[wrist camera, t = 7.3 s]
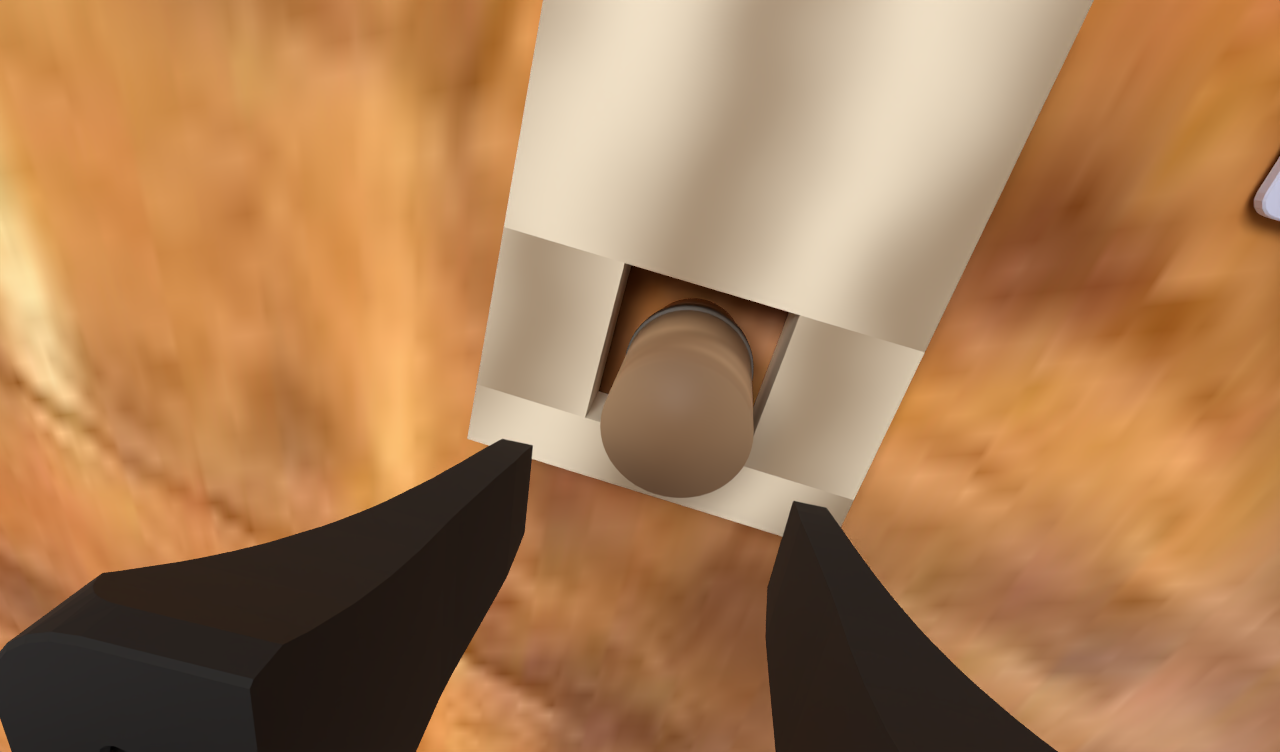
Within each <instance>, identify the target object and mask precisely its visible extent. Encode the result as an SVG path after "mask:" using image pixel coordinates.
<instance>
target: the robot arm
mask: <svg viewBox="0 0 1280 752" xmlns="http://www.w3.org/2000/svg"><path fill="white" fill-rule="evenodd" d="M1254 208H1255V210H1256V211H1257V213H1258V214H1260V215H1262V216H1264V217H1267V218H1270V219H1274V220H1277V221H1280V157H1279V159H1278V160H1277V162H1276V163H1275V165H1274V166H1273V168H1272V169H1271V171H1270V173H1269V174H1268V176H1267V177H1266V179H1265V180H1264V182H1263V184H1262V185H1261V187H1260V188H1259V190H1258V191H1257V193H1256V196H1255V198H1254ZM532 451H533V445H529V444H525V443H520V442H515V441H511V440H506V439H501V440H499V441H497V442H495V443H493V444H492V445H490V446H488V447H486V448H485V449H483V450H481V451H479V452H478V453H476V454H474V455H473V456H471V457H469V458H468V459H466V460H464V461H462V462H461V463H459V464H457V465H455V466H453V467H452V468H450V469H448V470H446V471H444V472H443V473H441V474H439V475H437V476H436V477H434V478H432V479H430V480H428V481H426V482H424V483H422V484H420V485H418V486H416V487H414V488H412V489H410V490H408V491H406V492H404V493H402V494H400V495H398V496H396V497H394V498H392V499H390V500H388V501H385V502H383V503H381V504H379V505H376V506H374V507H372V508H369V509H367V510H364V511H362V512H360V513H357V514H354V515H352V516H349V517H346V518H344V519H341V520H339V521H336V522H333V523H330V524H328V525H325V526H322V527H318V528H315V529H312V530H308V531H305V532H302V533H299V534H295V535H292V536H289V537H285V538H282V539H279V540H276V541H272V542H269V543H265V544H261V545H257V546H253V547H249V548H244V549H240V550H236V551H232V552H227V553H222V554H218V555H213V556H208V557H203V558H198V559H193V560H188V561H182V562H176V563H169V564H163V565H156V566H149V567H143V568H136V569H130V570H123V571H116V572H108V573H102V574H101V575H99V576H98V577H96V578H95V579H94V580H92V581H91V582H89V583H88V584H87V585H85V586H84V587H83V588H81V589H80V590H79V591H77V592H76V593H75V594H73V595H72V596H70V597H69V598H68V599H66V600H65V601H64V602H62V603H61V604H60V605H58V606H57V607H56V608H54V609H53V610H51V611H50V612H49V613H47V614H46V615H45V616H43V617H42V618H41V619H39V620H38V621H36V622H35V623H34V624H32V625H31V626H30V627H28V628H27V629H26V630H24V631H23V632H22V633H20V634H19V635H17V636H16V637H15V638H13V639H12V640H11V641H9V642H8V643H7V644H6V645H5V646H4V648H3V649H2V650H1V651H0V719H1V722H2V725H3V728H4V731H5V734H6V736H7V739H8V742H9V745H10V748H11V751H12V752H416V750H417V748H418V746H419V743H420V741H421V739H422V737H423V734H424V732H425V730H426V728H427V725H428V723H429V721H430V719H431V716H432V714H433V712H434V709H435V707H436V705H437V703H438V700H439V698H440V696H441V694H442V692H443V690H444V688H445V687H446V685H447V683H448V681H449V679H450V677H451V675H452V673H453V671H454V670H455V668H456V666H457V664H458V663H459V661H460V659H461V657H462V655H463V654H464V652H465V650H466V648H467V647H468V645H469V643H470V641H471V640H472V638H473V636H474V634H475V633H476V631H477V629H478V627H479V626H480V624H481V622H482V620H483V619H484V617H485V615H486V613H487V612H488V610H489V608H490V606H491V604H492V603H493V601H494V599H495V597H496V595H497V594H498V592H499V590H500V588H501V587H502V585H503V583H504V581H505V579H506V577H507V575H508V573H509V570H510V568H511V565H512V563H513V561H514V558H515V556H516V553H517V551H518V548H519V545H520V543H521V540H522V538H523V535H524V532H525V522H526V512H527V502H528V491H529V481H530V471H531V461H532ZM766 648H767V660H768V672H769V683H770V694H771V705H772V716H773V727H774V738H775V749H776V752H1058V751H1056V750H1055V749H1054V748H1052V747H1051V746H1049V745H1048V744H1047V743H1045V742H1044V741H1043V740H1041V739H1040V738H1039V737H1038V736H1036V735H1035V734H1034V733H1033V732H1031V731H1030V730H1029V729H1028V728H1026V727H1025V726H1024V725H1023V724H1021V723H1020V722H1019V721H1017V720H1016V719H1015V718H1014V717H1013V716H1011V715H1010V714H1009V713H1008V712H1007V711H1006V710H1004V709H1003V708H1002V707H1001V706H1000V705H999V704H997V703H996V702H995V701H994V700H993V699H992V698H990V697H989V696H988V695H987V694H986V693H985V692H984V691H982V690H981V689H980V688H979V687H978V686H977V685H976V684H974V683H973V682H972V681H971V680H970V679H969V678H968V677H967V676H966V675H965V674H964V673H963V672H961V671H960V670H959V669H958V668H957V667H956V666H955V665H954V664H953V663H952V662H951V661H950V660H949V659H948V658H947V657H946V656H945V655H944V654H943V653H942V652H941V651H940V650H939V649H938V648H937V647H936V646H935V645H934V644H933V643H932V642H931V641H930V640H929V639H928V637H927V636H926V635H925V634H924V633H923V632H922V631H921V630H920V629H919V628H918V627H917V626H916V624H915V623H914V622H913V621H912V620H911V619H910V617H909V616H908V615H907V614H906V613H905V612H904V610H903V609H902V608H901V607H900V606H899V605H898V603H897V602H896V601H895V600H894V599H893V597H892V596H891V595H890V594H889V592H888V591H887V590H886V589H885V588H884V586H883V585H882V584H881V582H880V581H879V580H878V579H877V577H876V576H875V575H874V573H873V572H872V571H871V569H870V568H869V567H868V565H867V564H866V563H865V561H864V560H863V559H862V557H861V556H860V554H859V553H858V552H857V550H856V549H855V547H854V546H853V545H852V543H851V542H850V540H849V539H848V537H847V536H846V535H845V533H844V532H843V530H842V529H841V527H840V526H839V524H838V523H837V522H836V520H835V519H834V517H833V516H832V514H831V513H830V512H829V510H828V509H827V508H826V507H821V506H816V505H812V504H807V503H802V502H797V501H793V503H792V506H791V510H790V513H789V517H788V520H787V523H786V527H785V530H784V533H783V537H782V540H781V544H780V547H779V550H778V554H777V557H776V561H775V564H774V567H773V571H772V574H771V578H770V581H769V584H768V590H767V611H766Z"/></svg>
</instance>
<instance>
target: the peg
mask: <svg viewBox="0 0 1280 752" xmlns="http://www.w3.org/2000/svg"><path fill="white" fill-rule="evenodd" d="M752 379H753V357H752V352H751V349H750V346H749V344H748V341H747V339H746V337H745V335H744V334H743V332H742V330H741V329H740V328H739V326H738V325H737V324H736V323H735V321H734V320H733V318H732V317H731V316H730V315H729V314H728V313H727V312H726V311H725V310H724V309H723V308H721V307H720V306H718V305H716V304H715V303H712V302H710V301H706V300H702V299H683V300H679V301H676V302H673V303H671V304H669V305H667V306H666V307H664V308H663V309H661V310H659V311H658V312H656V313H654V314H653V315H652V316H650V317H649V318H648V319H647V320H645V321H644V322H643V323H642V324H641V325H640V327H639V328H638V329H637V330H636V332H635V333H634V335H633V337H632V339H631V341H630V343H629V346H628V348H627V352H626V356H625V359H624V361H623V363H622V365H621V368H620V370H619V372H618V374H617V376H616V379H615V381H614V383H613V385H612V388H611V390H610V392H609V394H608V397H607V399H606V401H605V404H604V406H603V409H602V414H601V421H600V431H601V438H602V443H603V446H604V448H605V451H606V453H607V455H608V457H609V459H610V461H611V462H612V463H613V465H614V466H615V468H616V469H617V470H618V471H619V472H620V473H621V474H622V475H623V476H624V477H625V478H626V479H628V480H629V481H630V482H632V483H633V484H635V485H636V486H638V487H640V488H642V489H644V490H646V491H648V492H651V493H653V494H657V495H661V496H665V497H672V498H689V497H696V496H701V495H704V494H708V493H711V492H713V491H715V490H717V489H719V488H721V487H723V486H724V485H726V484H727V483H728V482H730V481H731V480H732V479H733V478H734V477H735V476H736V475H737V474H738V473H739V472H740V471H741V469H742V468H743V466H744V465H745V463H746V461H747V459H748V457H749V455H750V452H751V449H752V444H753V433H754V428H753V397H752Z"/></svg>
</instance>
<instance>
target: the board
mask: <svg viewBox="0 0 1280 752" xmlns="http://www.w3.org/2000/svg"><path fill="white" fill-rule="evenodd" d="M1093 1H1094V0H543V4H542V10H541V16H540V22H539V27H538V33H537V39H536V45H535V51H534V56H533V62H532V68H531V74H530V79H529V85H528V91H527V97H526V103H525V108H524V114H523V120H522V126H521V131H520V137H519V143H518V149H517V155H516V160H515V166H514V172H513V178H512V183H511V189H510V195H509V201H508V207H507V212H506V218H505V224H504V230H503V235H502V241H501V247H500V253H499V259H498V264H497V270H496V276H495V282H494V287H493V293H492V299H491V305H490V311H489V316H488V322H487V328H486V334H485V339H484V345H483V351H482V357H481V363H480V368H479V374H478V380H477V386H476V391H475V397H474V403H473V409H472V415H471V420H470V426H469V432H468V438H467V439H470V440H473V441H476V442H479V443H483V444H486V445H489V446H490V445H492V444H493V443H495V442H497V441H499V440H501V439H506V440H511V441H515V442H520V443H525V444H529V445H533V451H532V459H534V460H537V461H541V462H544V463H547V464H550V465H554V466H557V467H560V468H563V469H566V470H570V471H573V472H576V473H579V474H583V475H586V476H589V477H592V478H595V479H599V480H602V481H605V482H608V483H612V484H615V485H618V486H621V487H624V488H628V489H631V490H634V491H637V492H641V493H644V494H647V495H650V496H653V497H657V498H660V499H663V500H666V501H670V502H673V503H676V504H679V505H682V506H686V507H689V508H692V509H695V510H699V511H702V512H705V513H708V514H711V515H715V516H718V517H721V518H724V519H728V520H731V521H734V522H737V523H740V524H744V525H747V526H750V527H753V528H757V529H760V530H763V531H766V532H769V533H773V534H776V535H779V536H782V537H783V533H784V530H785V527H786V523H787V520H788V517H789V513H790V510H791V506H792V503H793V501H797V502H802V503H807V504H812V505H816V506H821V507H826V508H827V509H828V510H829V512H830V513H831V514H832V516H833V517H834V519H835V520H836V522H837V523H838V524H839V526H840V527H841V526H842V524H843V521H844V519H845V517H846V515H847V513H848V511H849V509H850V507H851V505H852V503H853V501H854V499H855V496H856V494H857V492H858V490H859V488H860V486H861V484H862V482H863V480H864V478H865V476H866V474H867V471H868V469H869V467H870V465H871V463H872V461H873V459H874V457H875V455H876V453H877V451H878V449H879V446H880V444H881V442H882V440H883V438H884V436H885V434H886V432H887V430H888V428H889V426H890V424H891V421H892V419H893V417H894V415H895V413H896V411H897V409H898V407H899V405H900V403H901V401H902V399H903V396H904V394H905V392H906V390H907V388H908V386H909V384H910V382H911V380H912V378H913V376H914V374H915V371H916V369H917V367H918V365H919V363H920V361H921V359H922V357H923V355H924V353H925V351H926V349H927V346H928V344H929V342H930V340H931V338H932V336H933V334H934V332H935V330H936V328H937V326H938V324H939V321H940V319H941V317H942V315H943V313H944V311H945V309H946V307H947V305H948V303H949V301H950V299H951V296H952V294H953V292H954V290H955V288H956V286H957V284H958V282H959V280H960V278H961V276H962V274H963V271H964V269H965V267H966V265H967V263H968V261H969V259H970V257H971V255H972V253H973V251H974V249H975V246H976V244H977V242H978V240H979V238H980V236H981V234H982V232H983V230H984V228H985V226H986V224H987V221H988V219H989V217H990V215H991V213H992V211H993V209H994V207H995V205H996V203H997V201H998V199H999V196H1000V194H1001V192H1002V190H1003V188H1004V186H1005V184H1006V182H1007V180H1008V178H1009V176H1010V174H1011V171H1012V169H1013V167H1014V165H1015V163H1016V161H1017V159H1018V157H1019V155H1020V153H1021V151H1022V149H1023V146H1024V144H1025V142H1026V140H1027V138H1028V136H1029V134H1030V132H1031V130H1032V128H1033V126H1034V124H1035V121H1036V119H1037V117H1038V115H1039V113H1040V111H1041V109H1042V107H1043V105H1044V103H1045V101H1046V99H1047V96H1048V94H1049V92H1050V90H1051V88H1052V86H1053V84H1054V82H1055V80H1056V78H1057V76H1058V74H1059V71H1060V69H1061V67H1062V65H1063V63H1064V61H1065V59H1066V57H1067V55H1068V53H1069V51H1070V49H1071V46H1072V44H1073V42H1074V40H1075V38H1076V36H1077V34H1078V32H1079V30H1080V28H1081V26H1082V24H1083V21H1084V19H1085V17H1086V15H1087V13H1088V11H1089V9H1090V7H1091V5H1092V3H1093ZM631 265H633V266H637V267H640V268H643V269H647V270H650V271H653V272H657V273H660V274H663V275H667V276H670V277H673V278H677V279H680V280H684V281H687V282H690V283H694V284H697V285H700V286H704V287H707V288H710V289H714V290H717V291H720V292H724V293H727V294H730V295H734V296H737V297H741V298H744V299H747V300H751V301H754V302H757V303H761V304H764V305H767V306H771V307H774V308H777V309H781V310H784V311H787V312H789V313H788V316H787V319H786V321H785V324H784V327H783V329H782V332H781V335H780V337H779V340H778V343H777V345H776V348H775V351H774V353H773V356H772V359H771V361H770V364H769V366H768V369H767V372H766V374H765V377H764V380H763V382H762V385H761V388H760V390H759V393H758V396H757V398H756V401H755V404H754V406H753V428H754V433H753V444H752V449H751V452H750V455H749V457H748V459H747V461H746V463H745V465H744V466H743V468H742V469H741V471H740V472H739V473H738V474H737V475H736V476H735V477H734V478H733V479H732V480H731V481H730V482H728V483H727V484H726V485H724V486H723V487H721V488H719V489H717V490H715V491H713V492H711V493H708V494H704V495H701V496H696V497H689V498H672V497H665V496H661V495H657V494H653V493H651V492H648V491H646V490H644V489H642V488H640V487H638V486H636V485H635V484H633V483H632V482H630V481H629V480H628V479H626V478H625V477H624V476H623V475H622V474H621V473H620V472H619V471H618V470H617V469H616V468H615V466H614V465H613V463H612V462H611V461H610V459H609V457H608V455H607V453H606V451H605V448H604V446H603V443H602V438H601V431H600V421H601V414H602V409H603V406H604V404H605V401H606V399H607V397H608V394H606V393H603V392H600V391H599V388H600V384H601V380H602V376H603V372H604V369H605V365H606V361H607V357H608V353H609V349H610V345H611V342H612V338H613V334H614V330H615V326H616V322H617V319H618V315H619V311H620V307H621V303H622V299H623V296H624V292H625V288H626V284H627V280H628V276H629V273H630V269H631Z"/></svg>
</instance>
